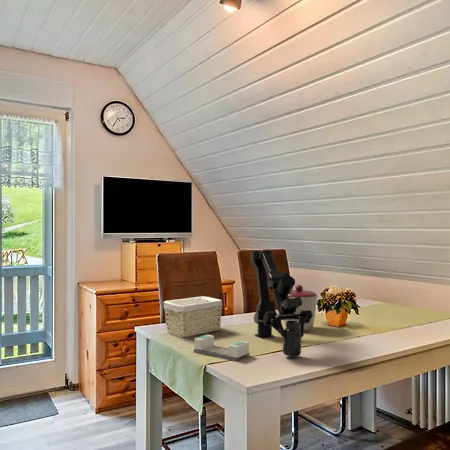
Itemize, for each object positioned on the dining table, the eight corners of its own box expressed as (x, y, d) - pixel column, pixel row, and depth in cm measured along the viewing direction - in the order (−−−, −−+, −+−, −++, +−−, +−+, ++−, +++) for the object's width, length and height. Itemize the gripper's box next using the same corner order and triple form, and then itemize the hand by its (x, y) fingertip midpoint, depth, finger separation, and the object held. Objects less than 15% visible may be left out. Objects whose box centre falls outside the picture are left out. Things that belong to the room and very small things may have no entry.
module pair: (194, 348, 168) (194, 338, 168) (206, 344, 175) (207, 334, 175) (237, 357, 157) (237, 346, 157) (248, 352, 163) (248, 341, 163)
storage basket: (181, 339, 187) (181, 305, 188) (161, 332, 200) (162, 300, 200) (223, 331, 203) (224, 299, 203) (203, 325, 215) (203, 295, 215)
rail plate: (193, 352, 168) (193, 349, 168) (207, 346, 175) (207, 344, 175) (236, 361, 156) (236, 358, 156) (249, 355, 164) (249, 352, 164)
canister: (321, 326, 212) (322, 283, 212) (313, 335, 196) (313, 288, 196) (286, 323, 220) (286, 281, 220) (275, 330, 203) (275, 286, 203)
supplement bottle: (279, 353, 162) (279, 321, 162) (290, 350, 166) (290, 319, 166) (293, 357, 157) (294, 324, 157) (304, 354, 161) (305, 322, 161)
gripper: (265, 290, 163) (275, 326, 152) (311, 289, 167) (324, 324, 157) (258, 307, 171) (267, 342, 160) (302, 305, 175) (314, 339, 164)
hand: (293, 337), depth 160 cm, fingers closed on supplement bottle, 7 cm apart
